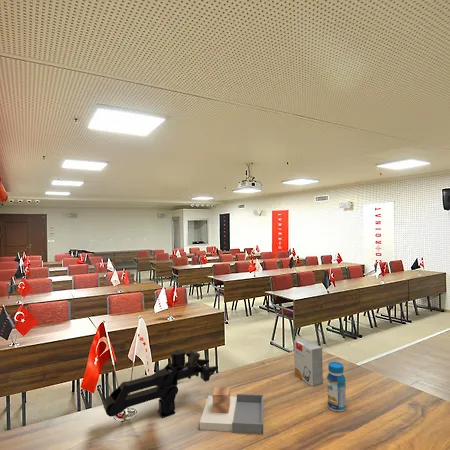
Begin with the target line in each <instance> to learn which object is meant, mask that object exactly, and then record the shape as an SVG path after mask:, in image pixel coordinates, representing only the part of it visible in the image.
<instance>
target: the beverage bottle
mask: <svg viewBox="0 0 450 450" xmlns="http://www.w3.org/2000/svg"><path fill="white" fill-rule="evenodd" d="M327 368H328V374H327V377H326V379H327V381H326V386H327V406H328V408H329V409H330V410H332V411H335V412H343V411H345V410H346V409H347V402H346V401H347V398H346V388H347V384H346V378H345V377H346V376H345V375H344V372H345V371H344V370H345V369H344V364H343V363H342V362H339V361H330V362H328V367H327Z"/></svg>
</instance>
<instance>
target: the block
mask: <svg viewBox="0 0 450 450" xmlns="http://www.w3.org/2000/svg"><path fill="white" fill-rule="evenodd" d="M230 390H231V387H224V386H223V387H222V386H221V387H220V386H214V388H213V392H212V397H213V413H229V408H230V396H231V391H230Z"/></svg>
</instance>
